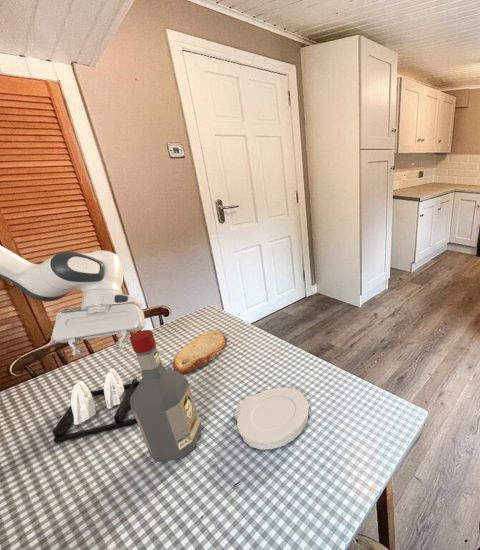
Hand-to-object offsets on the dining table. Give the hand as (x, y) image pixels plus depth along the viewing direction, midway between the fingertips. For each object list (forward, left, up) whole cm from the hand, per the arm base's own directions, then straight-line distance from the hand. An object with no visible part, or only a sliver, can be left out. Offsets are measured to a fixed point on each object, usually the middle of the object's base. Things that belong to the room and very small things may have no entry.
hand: (99, 351), depth 82 cm
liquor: (+21, -26, -13) cm, 36 cm away
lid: (+42, -26, -13) cm, 51 cm away
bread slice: (+21, +11, -13) cm, 27 cm away
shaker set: (0, -8, -13) cm, 16 cm away
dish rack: (+3, -8, -13) cm, 16 cm away
